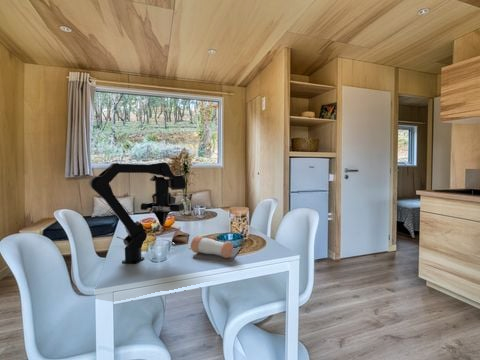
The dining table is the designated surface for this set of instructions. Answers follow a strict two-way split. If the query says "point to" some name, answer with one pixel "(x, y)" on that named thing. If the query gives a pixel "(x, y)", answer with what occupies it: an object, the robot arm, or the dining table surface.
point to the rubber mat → (217, 257)
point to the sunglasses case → (180, 237)
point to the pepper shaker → (211, 246)
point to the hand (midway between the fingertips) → (162, 225)
